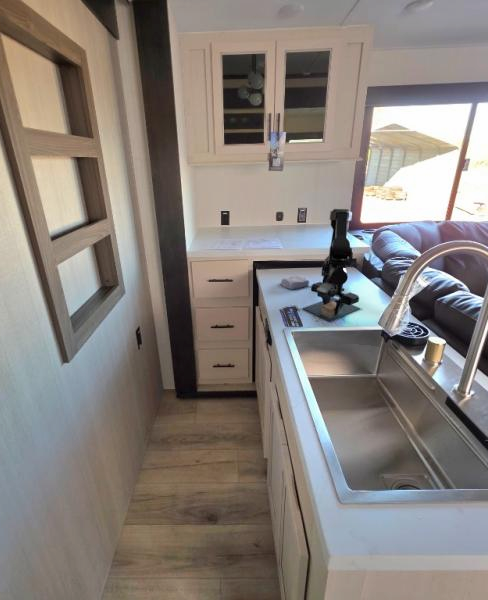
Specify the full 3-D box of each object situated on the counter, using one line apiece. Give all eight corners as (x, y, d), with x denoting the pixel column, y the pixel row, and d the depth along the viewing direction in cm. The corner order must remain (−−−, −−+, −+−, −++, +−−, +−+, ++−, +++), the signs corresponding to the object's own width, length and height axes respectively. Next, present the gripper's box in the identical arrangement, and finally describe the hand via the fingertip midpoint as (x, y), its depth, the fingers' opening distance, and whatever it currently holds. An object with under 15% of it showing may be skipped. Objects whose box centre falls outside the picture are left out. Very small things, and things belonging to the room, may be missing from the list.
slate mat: (332, 298, 144) (332, 297, 143) (360, 308, 133) (360, 308, 133) (302, 309, 133) (302, 308, 133) (329, 321, 123) (330, 320, 122)
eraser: (331, 310, 131) (332, 301, 130) (340, 314, 128) (342, 305, 126) (320, 314, 128) (321, 305, 126) (329, 318, 124) (331, 309, 123)
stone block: (278, 287, 161) (291, 290, 152) (278, 278, 160) (291, 280, 151) (297, 284, 166) (310, 286, 157) (297, 275, 165) (310, 277, 156)
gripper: (303, 273, 124) (300, 309, 130) (344, 287, 110) (338, 326, 116) (322, 268, 130) (317, 302, 136) (363, 281, 116) (356, 318, 122)
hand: (331, 312), depth 127 cm, fingers closed on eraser, 4 cm apart
